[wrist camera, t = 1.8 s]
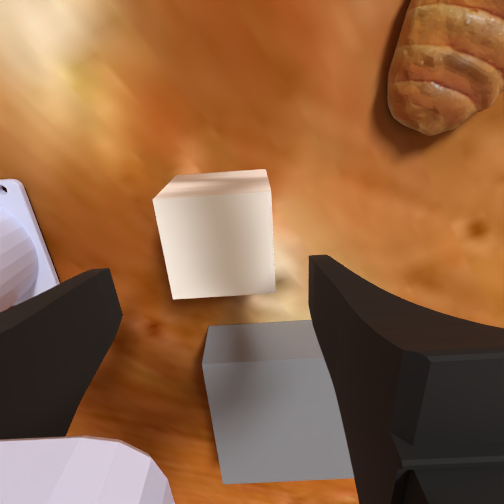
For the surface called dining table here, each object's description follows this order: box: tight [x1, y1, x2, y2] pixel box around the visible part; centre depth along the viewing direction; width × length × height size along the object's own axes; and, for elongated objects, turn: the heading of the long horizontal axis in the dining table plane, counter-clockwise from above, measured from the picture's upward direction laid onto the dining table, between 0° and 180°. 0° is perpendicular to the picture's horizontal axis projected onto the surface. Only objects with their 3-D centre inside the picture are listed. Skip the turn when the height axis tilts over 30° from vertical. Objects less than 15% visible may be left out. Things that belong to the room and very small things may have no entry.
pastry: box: [387, 0, 504, 136], centre depth 14 cm, size 9×7×4 cm
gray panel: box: [202, 320, 354, 484], centre depth 23 cm, size 12×12×4 cm
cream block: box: [153, 169, 276, 299], centre depth 17 cm, size 5×5×5 cm
